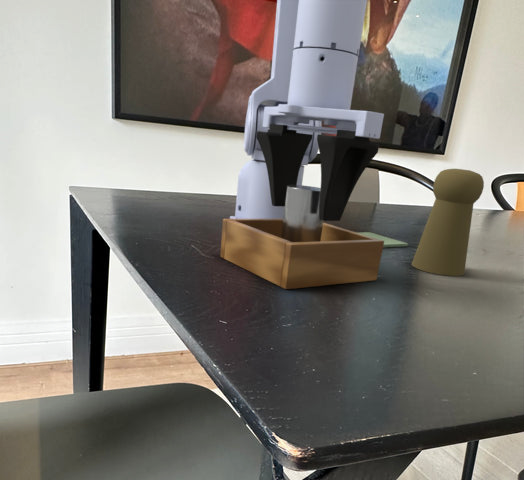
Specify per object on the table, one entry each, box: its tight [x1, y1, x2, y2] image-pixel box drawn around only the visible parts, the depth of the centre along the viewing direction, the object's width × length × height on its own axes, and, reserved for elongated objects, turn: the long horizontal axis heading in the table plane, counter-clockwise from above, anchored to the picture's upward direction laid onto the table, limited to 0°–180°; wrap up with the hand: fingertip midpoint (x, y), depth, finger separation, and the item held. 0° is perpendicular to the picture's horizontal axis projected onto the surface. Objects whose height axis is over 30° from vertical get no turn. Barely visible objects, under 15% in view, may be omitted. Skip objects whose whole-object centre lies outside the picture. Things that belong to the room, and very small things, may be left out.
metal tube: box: [281, 184, 324, 243], centre depth 50 cm, size 4×4×8 cm
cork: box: [411, 168, 485, 277], centre depth 56 cm, size 6×6×11 cm
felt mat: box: [358, 231, 409, 249], centre depth 70 cm, size 8×8×1 cm
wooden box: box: [219, 218, 384, 290], centre depth 50 cm, size 12×12×4 cm
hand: (304, 212), depth 49 cm, fingers open, 7 cm apart
